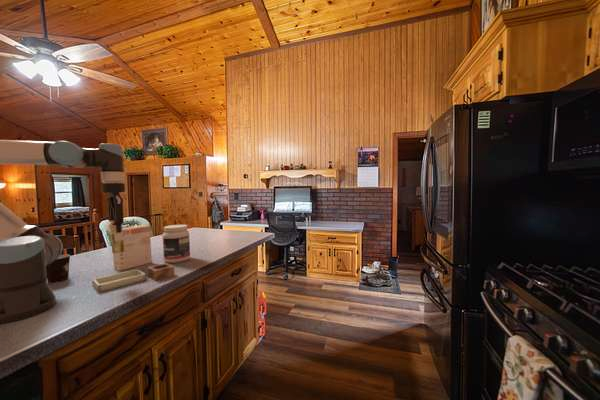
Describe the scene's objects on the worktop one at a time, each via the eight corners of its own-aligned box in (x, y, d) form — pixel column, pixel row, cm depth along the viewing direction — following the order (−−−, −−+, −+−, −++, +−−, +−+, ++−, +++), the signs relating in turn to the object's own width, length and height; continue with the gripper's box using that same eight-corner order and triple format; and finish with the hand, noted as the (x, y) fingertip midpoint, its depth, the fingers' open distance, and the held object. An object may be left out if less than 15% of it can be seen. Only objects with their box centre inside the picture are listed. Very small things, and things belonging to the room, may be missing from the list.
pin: (113, 253, 100) (111, 221, 100) (111, 252, 103) (108, 220, 102) (125, 251, 103) (123, 220, 103) (122, 250, 106) (120, 219, 105)
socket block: (154, 280, 105) (154, 271, 105) (148, 276, 110) (147, 267, 110) (174, 275, 111) (174, 266, 111) (167, 271, 116) (166, 262, 116)
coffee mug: (54, 284, 103) (52, 260, 103) (38, 283, 105) (36, 259, 105) (83, 274, 115) (82, 253, 114) (68, 273, 117) (67, 252, 116)
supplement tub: (158, 262, 131) (156, 227, 130) (178, 255, 143) (176, 223, 142) (176, 264, 126) (174, 228, 125) (195, 257, 138) (194, 224, 137)
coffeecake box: (146, 260, 135) (144, 224, 134) (152, 262, 131) (150, 225, 130) (113, 268, 123) (110, 229, 122) (118, 271, 119) (116, 230, 118)
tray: (98, 292, 94) (98, 285, 94) (92, 285, 101) (92, 279, 101) (146, 279, 106) (145, 273, 106) (137, 274, 114) (137, 268, 113)
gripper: (130, 182, 99) (134, 240, 100) (118, 183, 110) (122, 235, 111) (107, 182, 93) (111, 244, 95) (97, 183, 104) (101, 238, 106)
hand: (117, 239), depth 103 cm, fingers closed on pin, 4 cm apart
